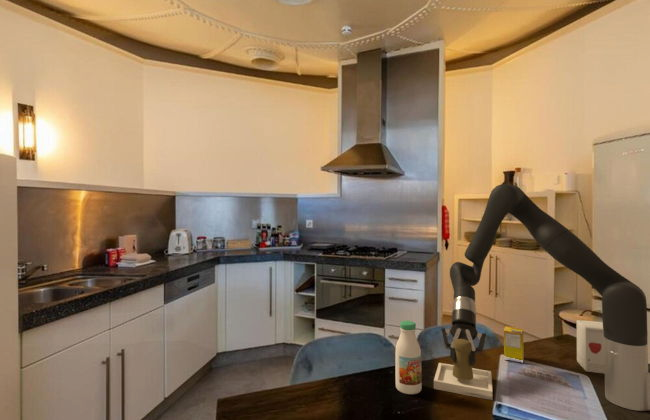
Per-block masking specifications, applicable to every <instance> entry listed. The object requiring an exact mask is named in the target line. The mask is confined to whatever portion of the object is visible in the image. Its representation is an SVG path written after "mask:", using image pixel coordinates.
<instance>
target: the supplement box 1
mask: <svg viewBox="0 0 650 420" xmlns="http://www.w3.org/2000/svg"><path fill="white" fill-rule="evenodd" d="M503 349H504V350H503V354H504V355H503V357H504V356H506V357H510V358H515V359H519V360H523V361H524V360H525V359H524V358H525V356H524V355H525V352H524V351H525V349H524V328H520V327H514V326H505V327H504V329H503Z"/></svg>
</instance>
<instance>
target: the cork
mask: <svg viewBox="0 0 650 420" xmlns="http://www.w3.org/2000/svg"><path fill="white" fill-rule="evenodd" d="M454 348H455V363H453V365H454V366H453V376H454V377H456V378H458V379H462V380H471V379H473V372H472V368H473V366H471V365H470V351H471V348H472V345H471V343H470V342H469V341H468V340H465V339H457V340H455V341H454Z"/></svg>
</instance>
